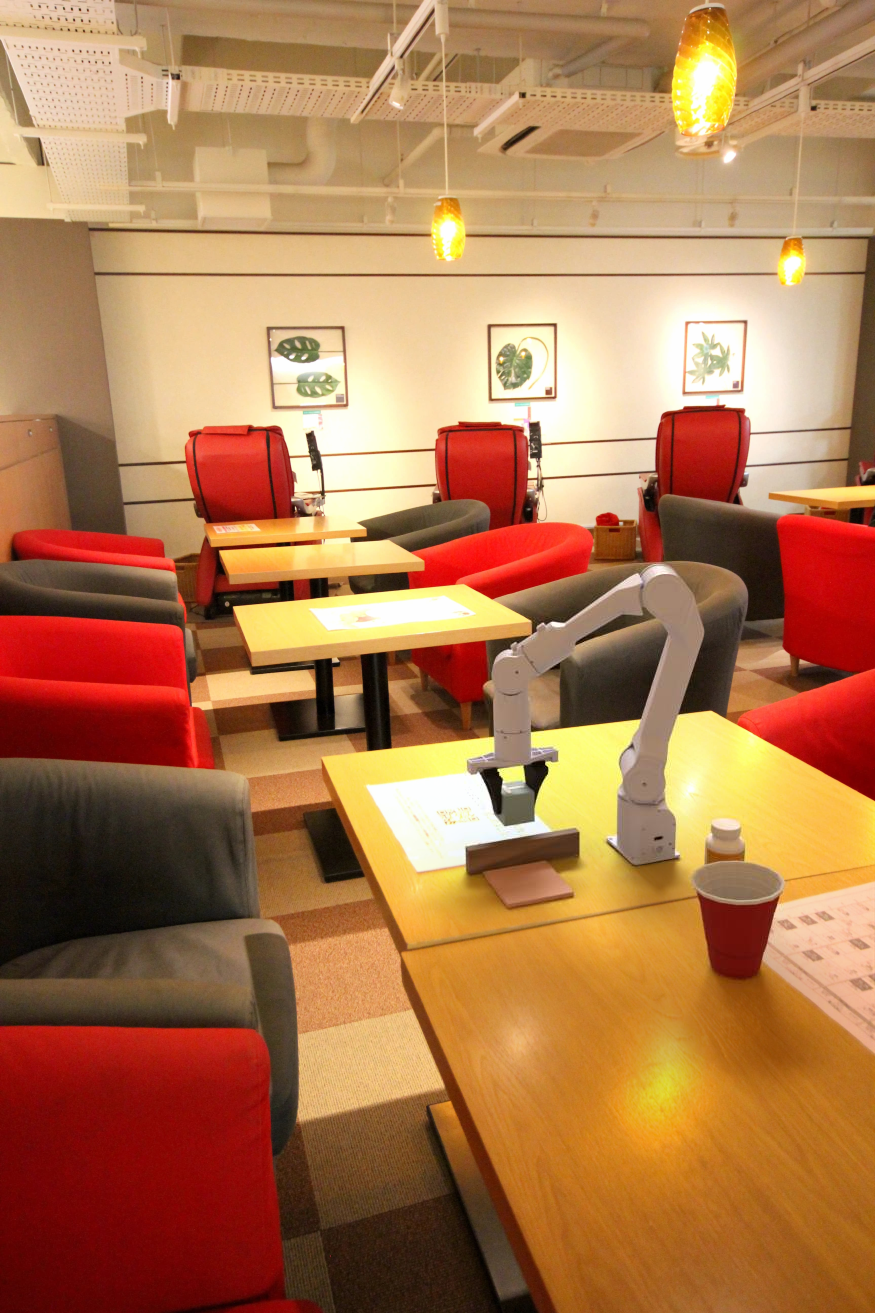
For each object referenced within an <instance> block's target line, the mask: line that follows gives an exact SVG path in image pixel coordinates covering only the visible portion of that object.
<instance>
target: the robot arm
mask: <svg viewBox="0 0 875 1313" xmlns="http://www.w3.org/2000/svg"><path fill="white" fill-rule="evenodd" d="M695 597H696V596H695V594H694V593H693V592H692V590H691V589H690V588H689V587H688V585H687V584H686V582H685V581H684V580H683V579H682V578H681V576H680V575H679V573H678V572H677V571H676V570H675V569H674V568H673V567H672V566H670V565H668V564H665V563H655V564H654V563H653V564H651V565H649V566H647V567H646V568H644V569H643V570H642V571H641V573H640V574H639V573H634V574H633V575H630V576H629V577H628V578H626V579H624V580H623V581H621V582H620V583H619V584H617V585H616V586H614V587H613V588H612V589H610V590H609V591H607V592H606V593H605V594H603V595H602V596H600V597H599V598H598V599H596V600H595V601H593V602H592V603H591V604H589V605H588V606H586V607H585V608H584V609H582V610H581V611H579V612H578V613H577V614H575V615H574V616H572V617H571V618H570V619H568V620H567V621H565V622H557V621H551V622H550V621H549V623H547V624H545V622H542V623H540V624H538V625H537V626H536V632H534V633H533V634H531V635H530V636H528V637H527V638H525V639H524V640H522V641H521V642H519V643H518V642H514V643H512V644H510V649H506V650H503V651H501V652H499V654H498V655H496V657H495V659H494V662H493V665H492V669H491V680H492V684H493V685H494V687H493V696H494V698H493V700H492V703H493V705H492V706H493V707H492V708H493V709H492V711H493V713H492V714H493V715H492V716H493V743H494V744H493V745H494V746H493V747H494V749H493V750H494V751H492V752H488V753H485V754H482V755H479V756H476V757H470V758H467V759H466V770H467V773H469V774H470V775H471V776H473V775H474V776H475V775H478V773H479V775H480V776H481V779H482V781H483V783H484V784H485V788H486V789H487V792H488V795H489V799H490V802H491V807H492V811H493V813H494V812H495V813H496V814H497V815H499V814H501V811H502V803H501V791H502V783H503V782H504V778H503V777H502V775H500V771H498V770H501V769H507V768H514V767H522V768H523V775H524V782H525V783H526V784H527V785H528V786H529V787H530V788H531V789H532V790H533V791H534V805H535V806H536V803H537V799H538V796H539V792H540V790H541V787H542V785H543V783H544V781H545V779H546V777H548V775H549V769H550V768H549V766H547V762H551V763H558V762H559V750H558V749H557V748H556V747H554V746H546V747H545V746H544V747H542V746H541V747H537V746H536V747H532V728H531V727H532V721H531V718H532V716H531V714H532V713H531V712H532V710H531V709H532V708H531V706H532V705H531V697H530V696H529V693H530V692H529V690H530V689H529V687H530V683H531V679H532V678H535V677H538V676H539V677H540V676H541V675H542V674H544V673H546V672H547V671H548V670H551V668H553V667H554V666H556V665H557V664H559V663H561V662H562V661H564V660H566V659H567V658H568V657H570V656H571V655H573V654H574V652H575V647H576V643H577V642H578V641H579V640H580V639H582V638H584V637H587V636H588V635H589V634H591V633H593V632H594V631H597V630H598V629H599V628H601V627H603V626H604V625H607V624H608V623H610V622H611V621H613V620H614V619H616V618H618V617H620V616H622V615H628V616H629V615H630V616H644V612H643V608H645V609H646V610H647V611H648V612H649V613H650V614H651V615H652V616H653V617H654V618H656V619H657V620H659V621H660V622H661V624H662V625H663V627H664V629H665V630H666V632H667V637H666V640H665V643H664V645H663V646H664V647H663V650H662V653H661V656H660V658H659V659H660V660H659V662H658V665H657V669H656V672H655V675H654V677H653V681H652V683H651V687H650V691H649V693H648V696H647V700H646V702H645V706H644V709H643V712H642V714H641V715H642V716H641V718H640V721H639V724H638V725H639V726H638V727H637V729H636V731H635V732H634V733H633V734H632V738H631V741H630V743H629V744H628V745H627V746H626V747H625V748H624V749H623V750H622V752H621V753H620V755H619V757H618V758H619V759H618V766H619V769H620V772H621V778H622V783H621V784H620V785H619V786H618V787H617V799H616V802H617V804H616V834H615V835H608V836H606V837H605V841H607V842H608V843H609V844H610V845H611V846H612V847H613V848H614V849H616V851H618V852H619V853H620V854H621V855H622V856H623V857H624V858H625V859H626V860H627V861H629V862H630V863H631V864H632V865H633V866H639V865H645V864H650V863H654V862H660V861H666V860H672V859H676V858H680V857H681V853H680V852H679V851H677V850H676V840H677V839H676V837H677V835H676V831H677V821H676V817H675V815H674V813H673V812H672V810H670V808H669V807H668V804H667V802H666V785H667V782H666V775H665V769H666V766H667V762H668V755H669V754H668V752H669V751H668V750H669V743H670V740H671V736H672V734H673V730H674V727H675V725H676V723H677V722H676V721H677V718H678V716H679V713H680V710H681V705H682V704H683V703H682V702H683V701H684V697H685V694H686V691H687V688H688V685H689V682H690V679H691V677H692V672H693V670H694V667H695V663H696V662H697V658H698V655H699V653H700V652H699V651H700V649H701V646H702V643H703V640H704V637H705V636H704V635H705V629H704V625H703V621H702V619H701V616H700V611H699V608H698V606H697V605H698V604H697V603H696V598H695Z"/></svg>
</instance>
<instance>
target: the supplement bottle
mask: <svg viewBox="0 0 875 1313" xmlns="http://www.w3.org/2000/svg"><path fill="white" fill-rule="evenodd" d="M710 826H711V827H710V832H711V833H709V834H708V835H707V836H706V838H705V841H704V842H705V844H704V845H705V846H704V864H703V865H706V864H710V863H715V862H719V861H744V862H745V857H746V855H745V854H746V842H745V840H744V838H743V837H742V836H741V832H742V825H741V823H740V822H738V821H737V820H735V819H731V818H726V817H725V818H724V817H723V818H716V819H715V818H714V820H712V821H711V825H710Z"/></svg>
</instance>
